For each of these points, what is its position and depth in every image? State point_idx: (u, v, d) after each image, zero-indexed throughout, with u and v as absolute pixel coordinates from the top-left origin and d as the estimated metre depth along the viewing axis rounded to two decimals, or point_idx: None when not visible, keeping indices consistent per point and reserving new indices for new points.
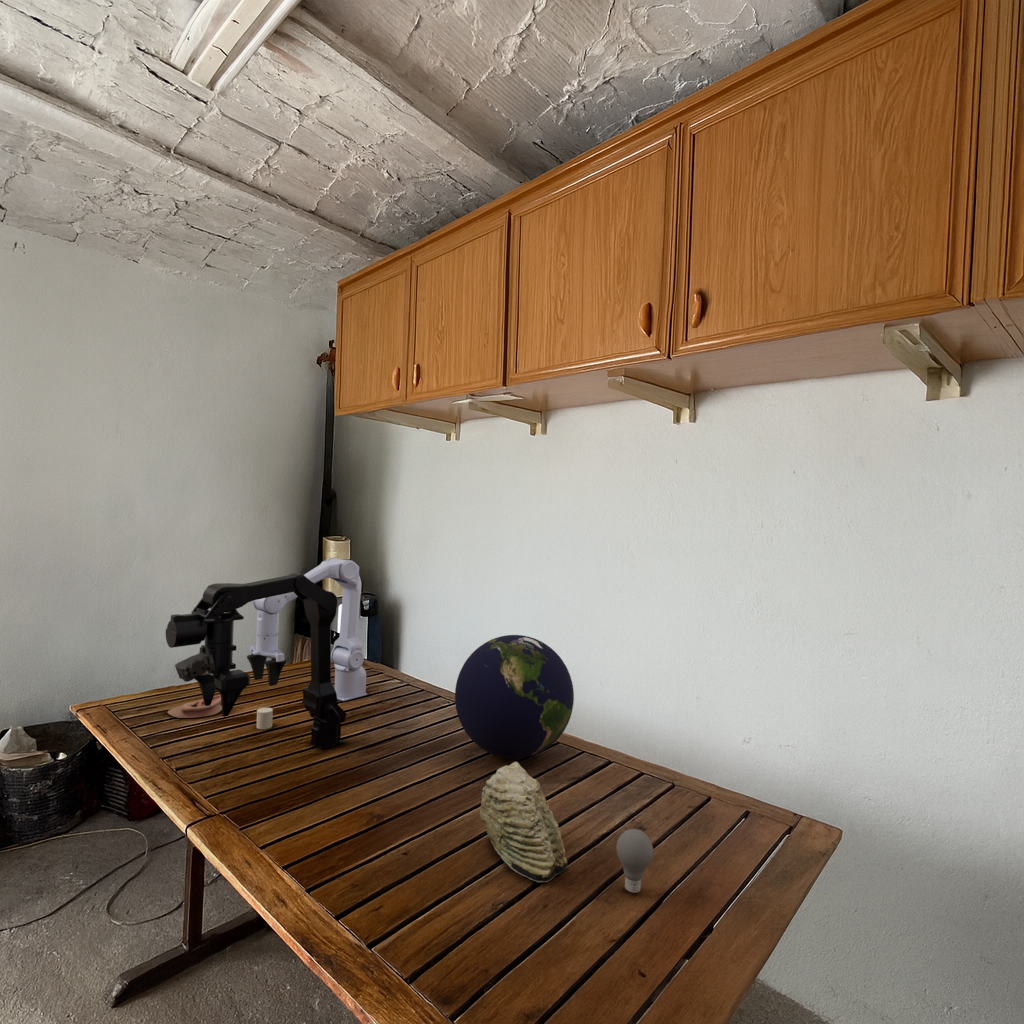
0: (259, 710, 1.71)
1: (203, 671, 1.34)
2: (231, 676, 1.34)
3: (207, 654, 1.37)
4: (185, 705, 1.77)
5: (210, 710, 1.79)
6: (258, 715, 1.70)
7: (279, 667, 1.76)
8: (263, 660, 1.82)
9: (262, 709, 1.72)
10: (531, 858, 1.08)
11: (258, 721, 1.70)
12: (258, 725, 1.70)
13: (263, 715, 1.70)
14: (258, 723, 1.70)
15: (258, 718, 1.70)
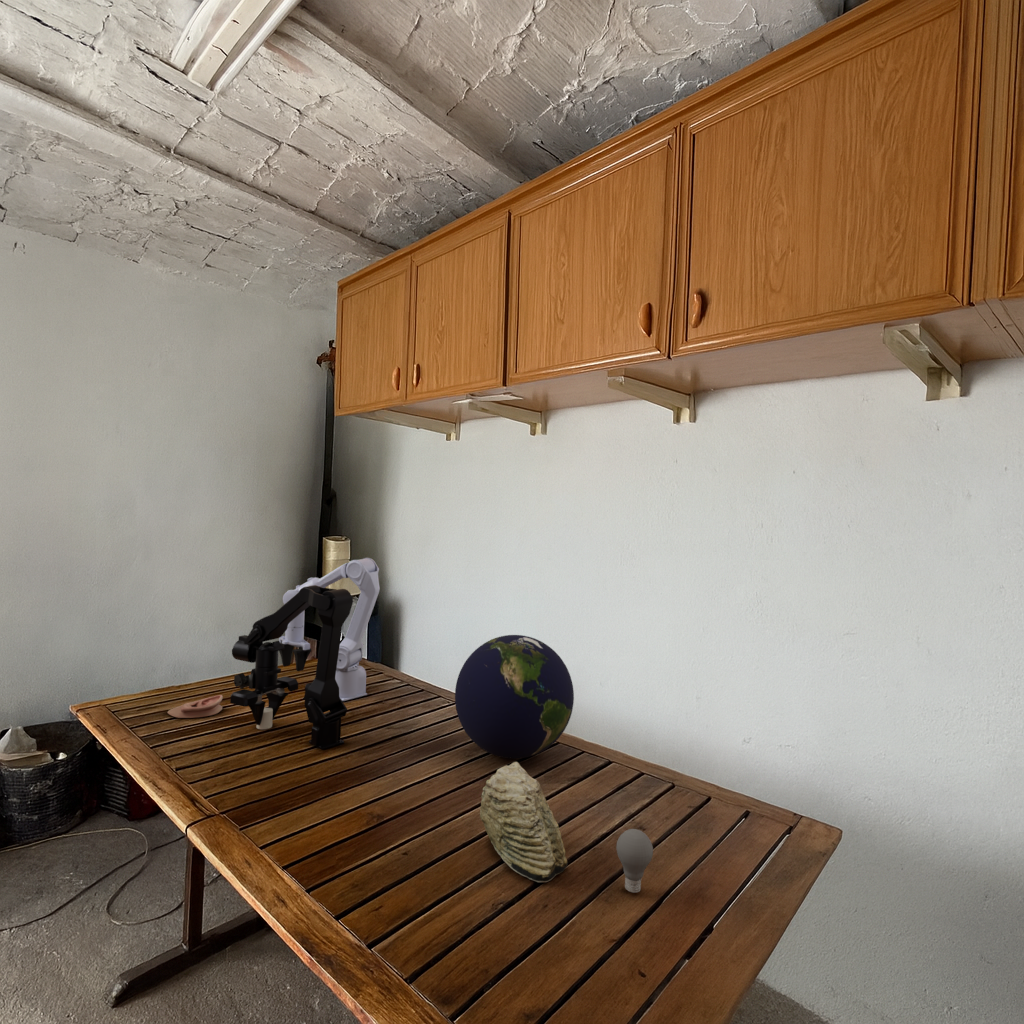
0: None
1: (240, 684, 1.70)
2: (235, 694, 1.64)
3: None
4: (185, 705, 1.77)
5: (210, 710, 1.79)
6: None
7: (305, 655, 2.03)
8: (290, 649, 2.08)
9: None
10: (531, 858, 1.08)
11: None
12: (258, 725, 1.70)
13: (263, 715, 1.70)
14: None
15: None
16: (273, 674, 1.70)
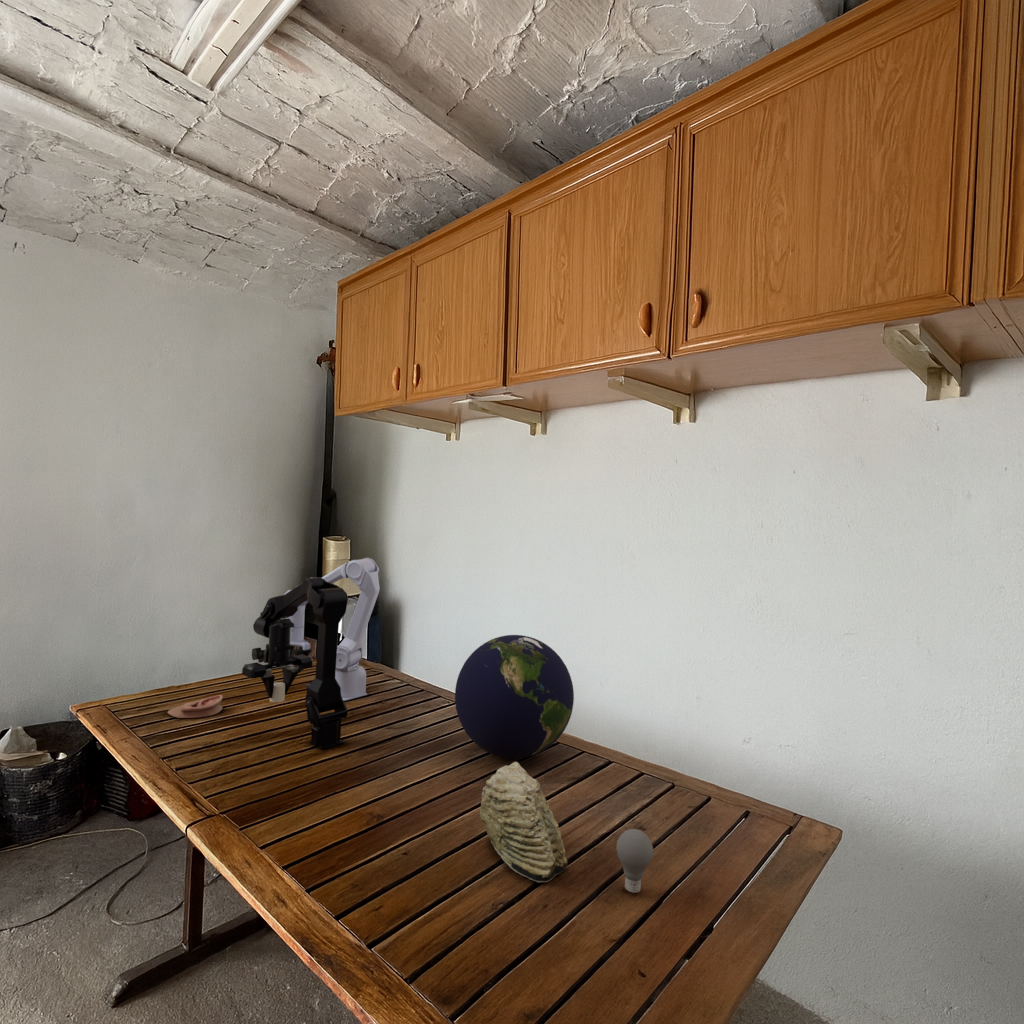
0: None
1: (255, 657, 1.79)
2: (246, 666, 1.73)
3: None
4: (185, 705, 1.77)
5: (210, 710, 1.79)
6: None
7: None
8: (290, 649, 2.08)
9: (275, 683, 1.79)
10: (531, 858, 1.08)
11: None
12: (270, 698, 1.78)
13: (274, 689, 1.77)
14: None
15: None
16: (284, 650, 1.77)
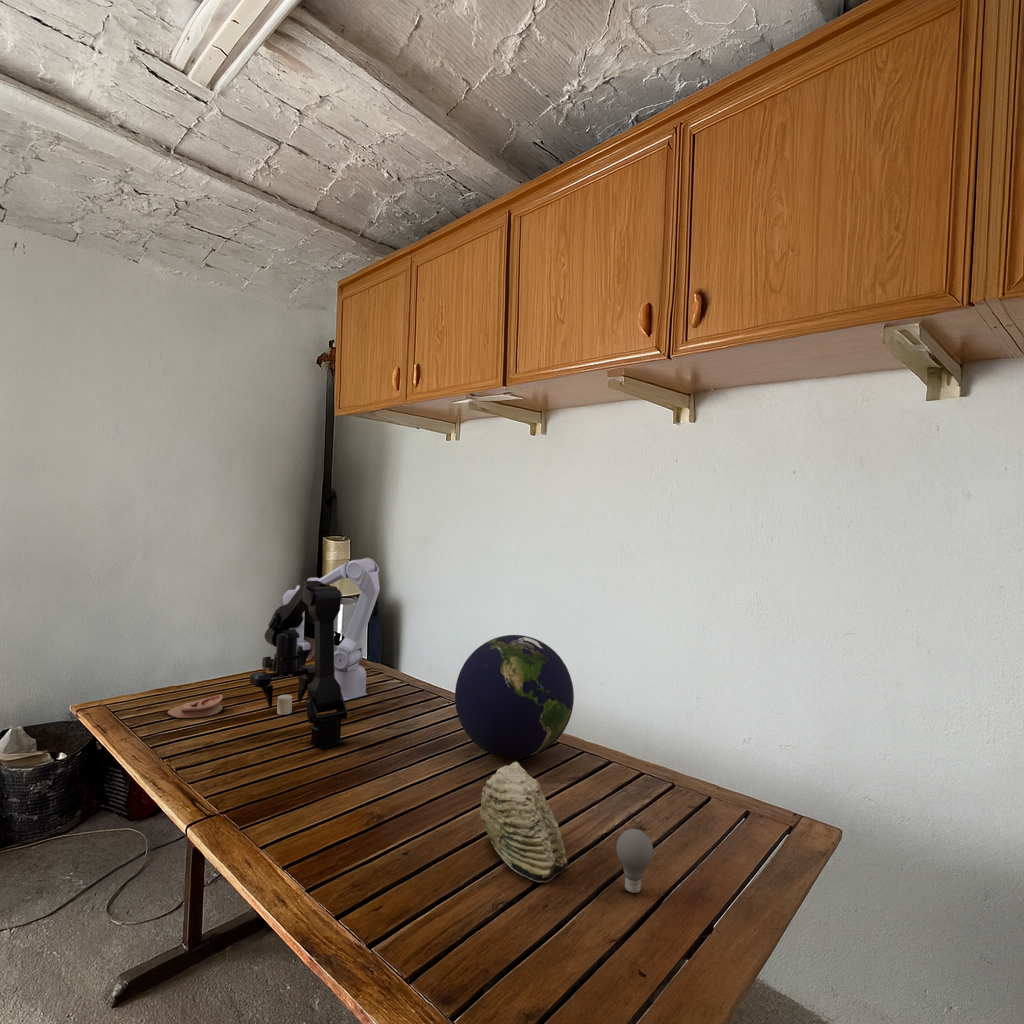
0: (280, 696, 1.83)
1: (265, 666, 1.84)
2: (253, 674, 1.78)
3: None
4: (185, 705, 1.77)
5: (210, 710, 1.79)
6: None
7: (305, 655, 2.03)
8: None
9: (283, 696, 1.84)
10: (531, 858, 1.08)
11: (277, 706, 1.82)
12: (277, 710, 1.82)
13: (281, 702, 1.82)
14: (277, 708, 1.82)
15: (277, 704, 1.82)
16: (290, 659, 1.81)
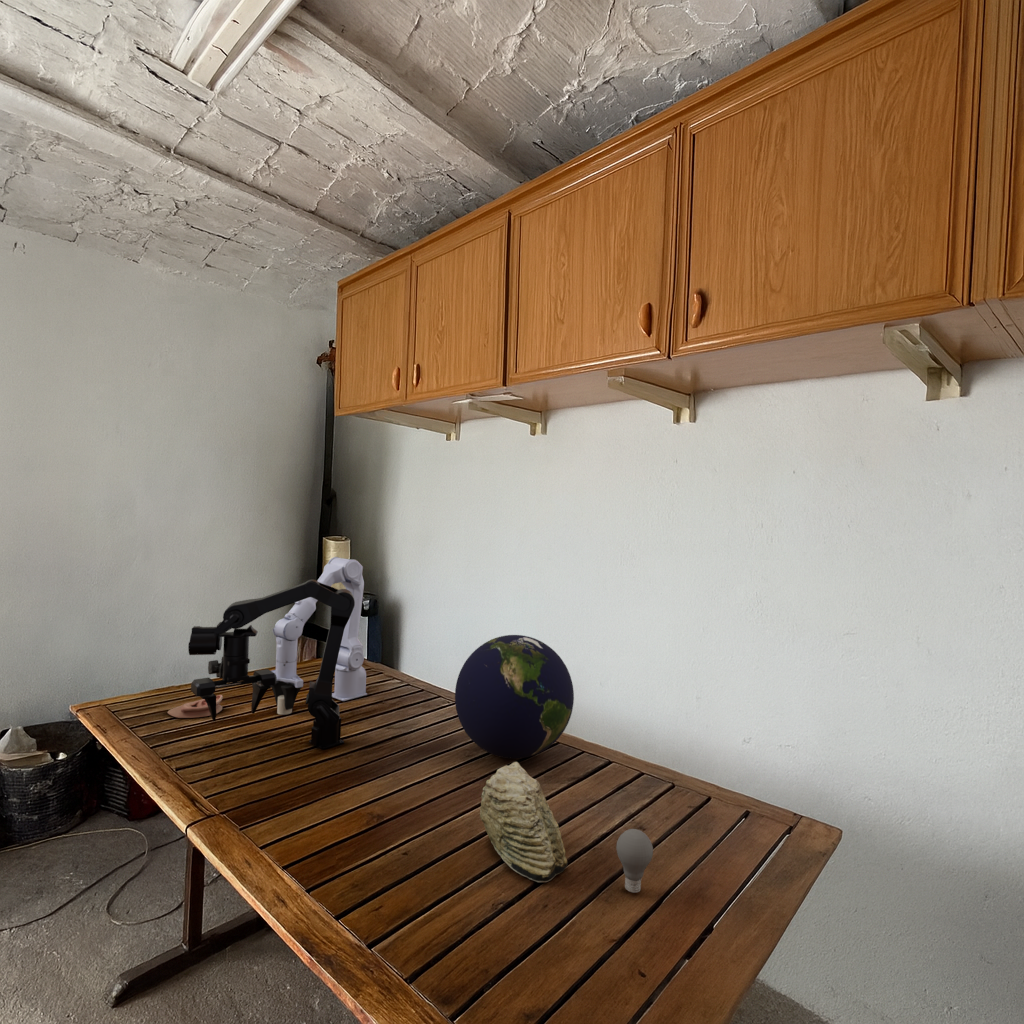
0: (280, 696, 1.83)
1: (210, 672, 1.57)
2: (194, 681, 1.51)
3: None
4: (185, 705, 1.77)
5: None
6: (278, 701, 1.82)
7: (295, 691, 1.82)
8: None
9: (283, 696, 1.84)
10: (531, 858, 1.08)
11: (277, 706, 1.82)
12: (277, 710, 1.82)
13: (281, 702, 1.82)
14: (277, 708, 1.82)
15: None
16: (239, 664, 1.54)
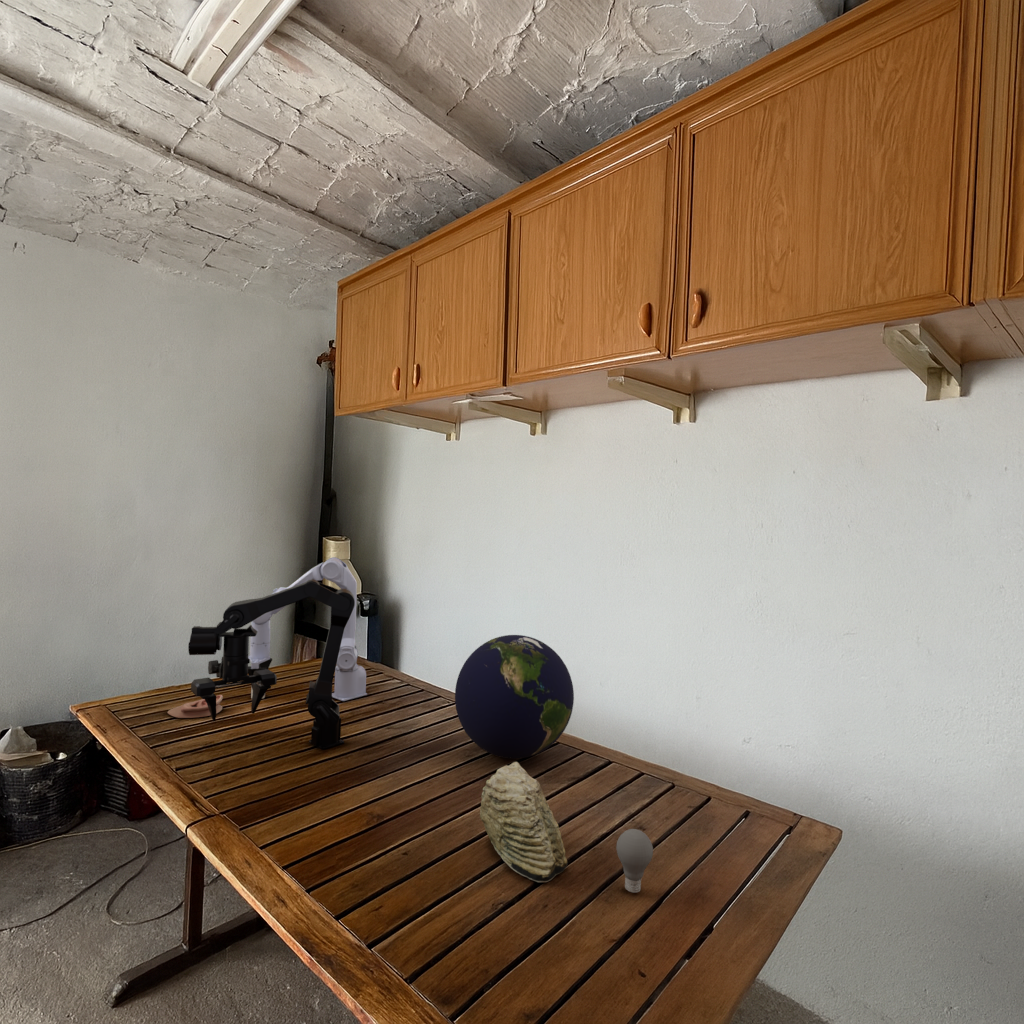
0: None
1: (210, 672, 1.57)
2: (194, 681, 1.51)
3: None
4: (185, 705, 1.77)
5: None
6: None
7: None
8: (266, 666, 2.00)
9: None
10: (531, 858, 1.08)
11: None
12: None
13: None
14: None
15: None
16: (239, 664, 1.54)
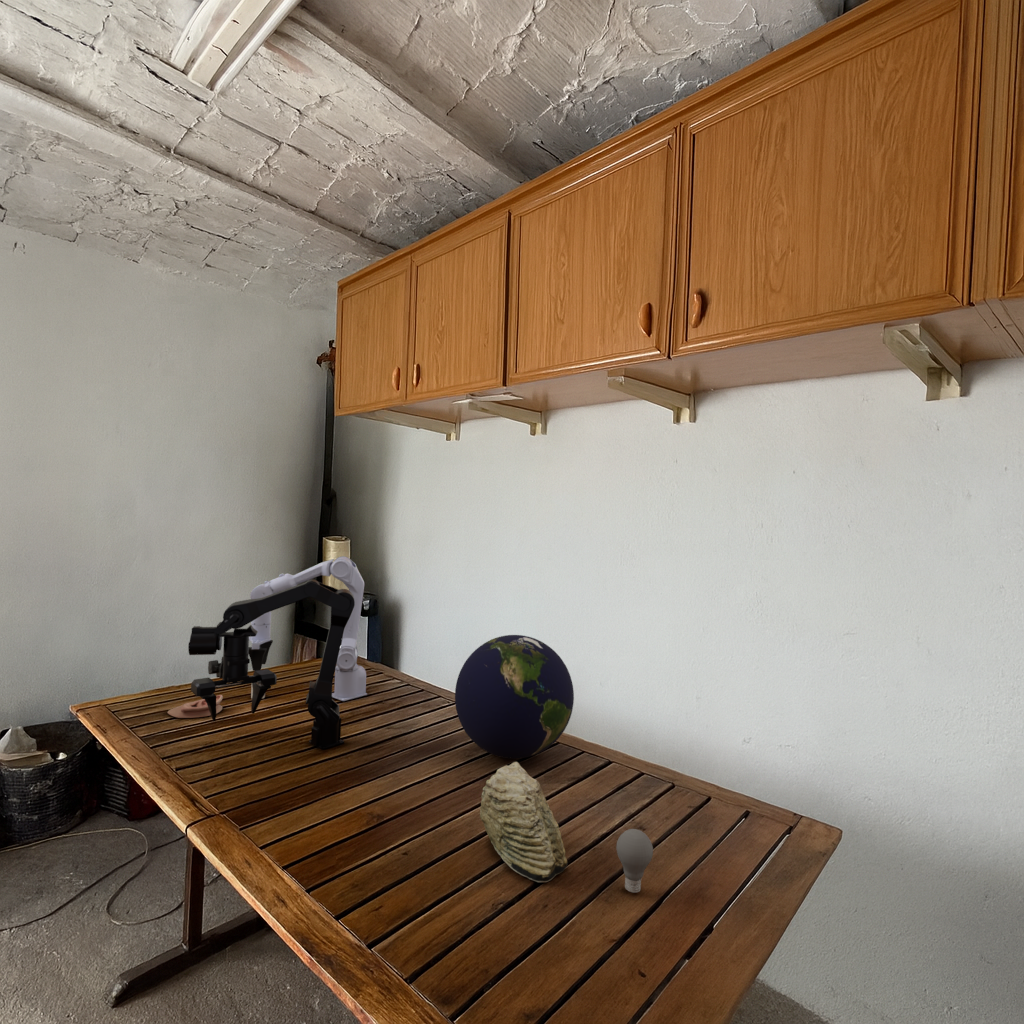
0: None
1: (210, 672, 1.57)
2: (194, 681, 1.51)
3: None
4: (185, 705, 1.77)
5: None
6: None
7: (260, 655, 1.91)
8: (266, 647, 1.99)
9: None
10: (531, 858, 1.08)
11: None
12: None
13: None
14: None
15: None
16: (239, 664, 1.54)
